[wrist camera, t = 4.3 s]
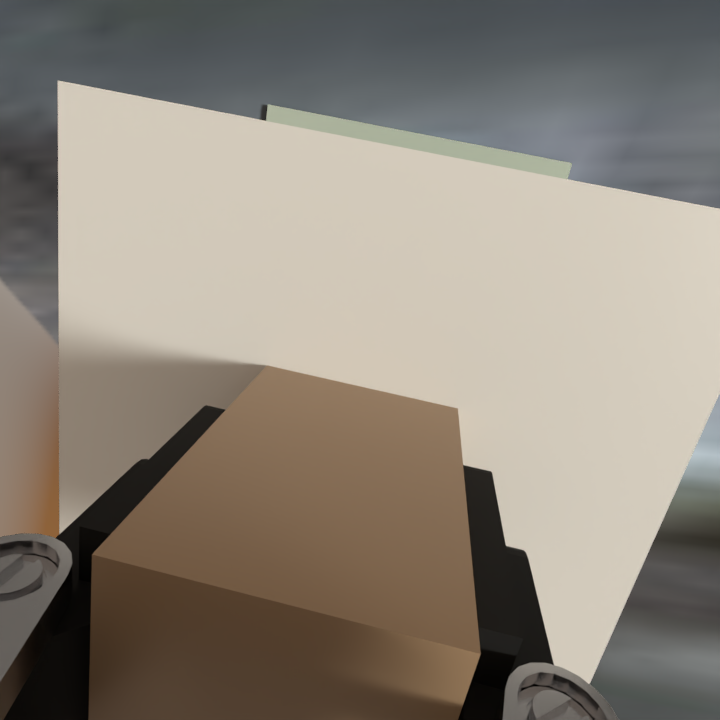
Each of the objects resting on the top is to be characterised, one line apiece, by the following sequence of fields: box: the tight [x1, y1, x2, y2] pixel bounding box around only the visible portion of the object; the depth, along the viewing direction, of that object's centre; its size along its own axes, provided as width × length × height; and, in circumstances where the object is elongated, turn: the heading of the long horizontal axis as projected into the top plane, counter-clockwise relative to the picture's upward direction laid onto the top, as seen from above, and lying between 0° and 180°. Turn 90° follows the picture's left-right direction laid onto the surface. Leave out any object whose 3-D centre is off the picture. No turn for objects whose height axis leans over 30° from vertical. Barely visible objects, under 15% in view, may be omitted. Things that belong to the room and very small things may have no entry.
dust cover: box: [58, 81, 720, 720], centre depth 16 cm, size 13×13×22 cm
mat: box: [266, 105, 572, 179], centre depth 31 cm, size 16×16×1 cm
